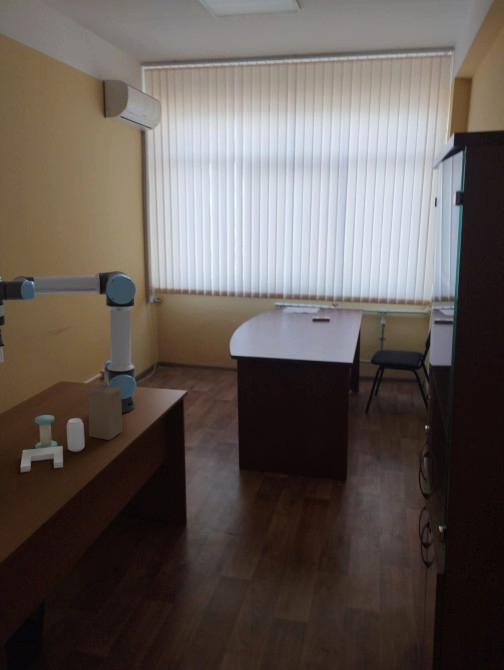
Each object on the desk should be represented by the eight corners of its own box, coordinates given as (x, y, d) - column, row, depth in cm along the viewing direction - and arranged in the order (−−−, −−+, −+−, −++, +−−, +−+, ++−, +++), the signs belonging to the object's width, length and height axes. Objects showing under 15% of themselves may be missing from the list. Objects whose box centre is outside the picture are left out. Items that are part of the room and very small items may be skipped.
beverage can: (75, 454, 204) (73, 424, 201) (64, 450, 207) (62, 420, 205) (88, 448, 209) (86, 419, 207) (77, 444, 212) (75, 416, 210)
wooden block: (123, 432, 225) (121, 386, 221) (109, 441, 216) (107, 394, 212) (102, 428, 228) (101, 383, 224) (88, 437, 219) (86, 390, 215)
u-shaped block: (62, 450, 207) (62, 445, 206) (62, 467, 194) (62, 461, 193) (23, 455, 202) (23, 450, 202) (20, 472, 189) (20, 466, 189)
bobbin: (57, 441, 214) (55, 413, 211) (57, 450, 207) (55, 421, 204) (35, 444, 212) (33, 415, 209) (34, 452, 204) (32, 423, 202)
